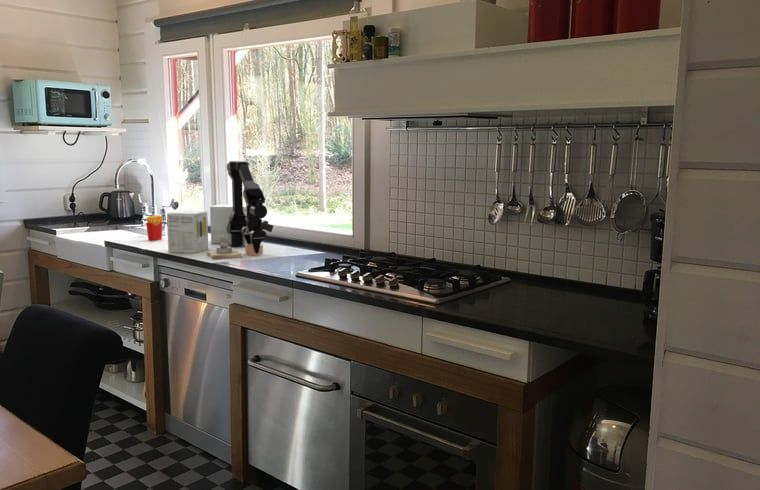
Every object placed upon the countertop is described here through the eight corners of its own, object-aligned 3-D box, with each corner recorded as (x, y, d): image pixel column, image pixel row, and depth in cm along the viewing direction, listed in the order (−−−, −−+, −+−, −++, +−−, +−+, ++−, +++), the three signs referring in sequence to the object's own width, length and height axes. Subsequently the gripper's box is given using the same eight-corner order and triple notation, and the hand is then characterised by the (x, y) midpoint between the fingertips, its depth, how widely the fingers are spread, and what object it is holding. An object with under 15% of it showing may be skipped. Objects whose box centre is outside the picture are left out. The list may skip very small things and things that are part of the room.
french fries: (150, 241, 313) (149, 216, 312) (145, 240, 316) (144, 216, 314) (165, 239, 320) (164, 215, 318) (160, 238, 322) (159, 214, 321)
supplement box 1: (195, 253, 279) (193, 213, 276) (167, 252, 281) (166, 212, 279) (209, 248, 292) (208, 210, 289) (182, 247, 294) (181, 209, 292)
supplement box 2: (253, 240, 319) (252, 204, 316) (245, 244, 306) (244, 206, 303) (219, 239, 321) (218, 203, 318) (210, 243, 307) (209, 206, 305)
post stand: (207, 254, 276) (206, 235, 274) (234, 252, 281) (234, 233, 280) (213, 259, 265) (212, 239, 264) (241, 257, 270) (241, 237, 269)
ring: (244, 253, 280) (243, 244, 280) (259, 252, 283) (259, 243, 283) (248, 255, 274) (248, 246, 273) (264, 254, 277) (264, 245, 277)
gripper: (277, 217, 272) (278, 253, 274) (265, 213, 288) (265, 247, 290) (252, 218, 267) (253, 255, 269) (240, 214, 283) (241, 248, 285)
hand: (254, 251), depth 279 cm, fingers open, 8 cm apart
